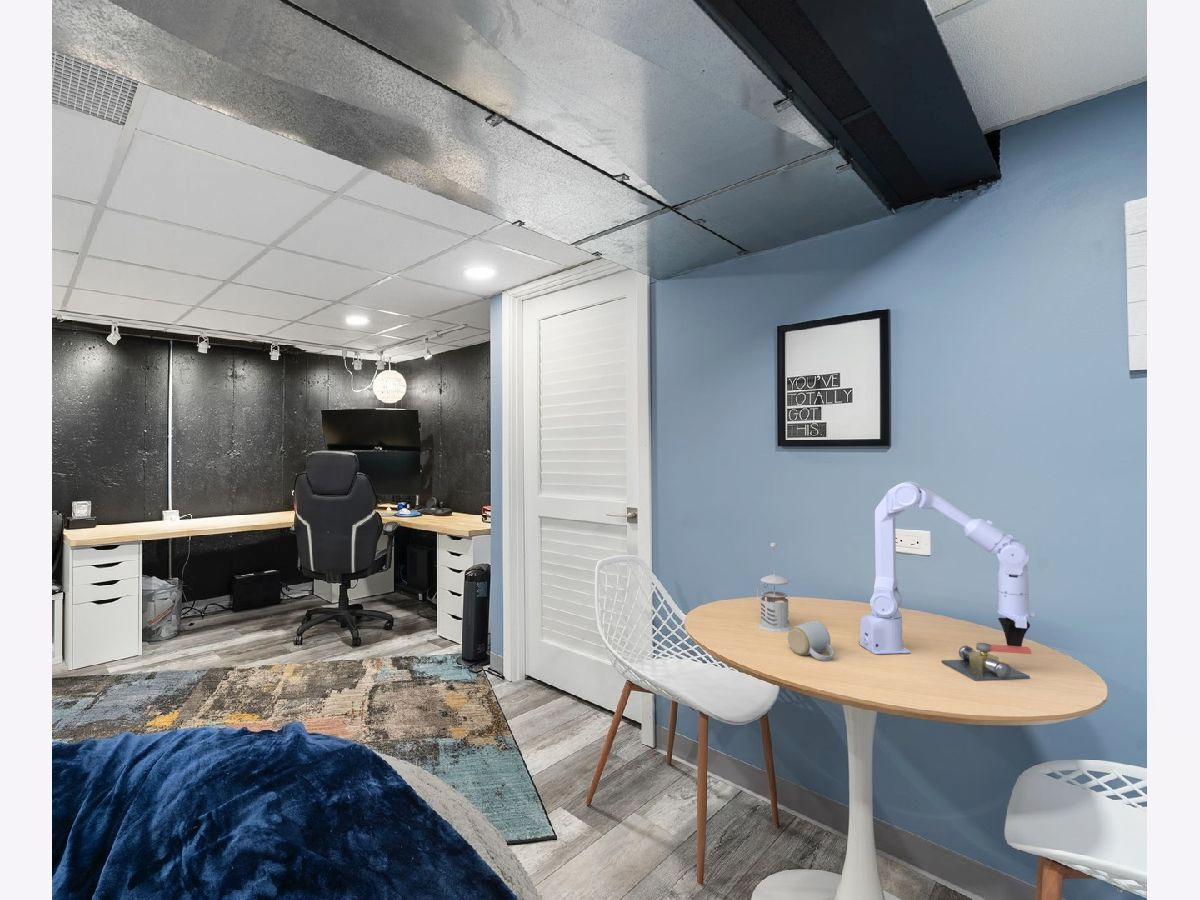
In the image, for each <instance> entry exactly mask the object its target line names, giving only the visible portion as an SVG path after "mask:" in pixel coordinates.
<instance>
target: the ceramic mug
mask: <svg viewBox="0 0 1200 900" xmlns="http://www.w3.org/2000/svg"><path fill="white" fill-rule="evenodd" d="M787 640H788V645H789V646H790V649H791V650H792V651H793V652H794V653H795V654H797V655H799V656H808V655H811V656H812V658H815V659H817V660H819V661H822V662H830V661H831V660H833V657H834V654H835V653H834V650H833V647H832V646H831V635H830V632H829V630H828V629H827V627H826V626H825V625H824V623H822V622H820V621H819V620H811V621H808V622H805V623H802V624H797V625H796V626H793V627H792V629H791V630H790V631H788V634H787ZM826 651H827V652H828V653H829V655H823V654H820V653H821V652H822V653H823V652H826Z"/></svg>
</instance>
